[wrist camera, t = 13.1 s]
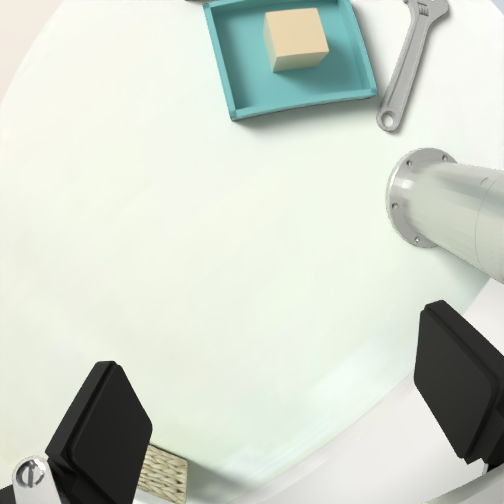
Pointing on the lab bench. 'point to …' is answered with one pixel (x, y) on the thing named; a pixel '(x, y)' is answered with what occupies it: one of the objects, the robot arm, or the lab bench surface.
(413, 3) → the adjustable wrench
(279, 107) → the teal bin
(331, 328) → the lab bench surface
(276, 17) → the sandstone block
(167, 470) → the storage basket
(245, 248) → the lab bench surface
